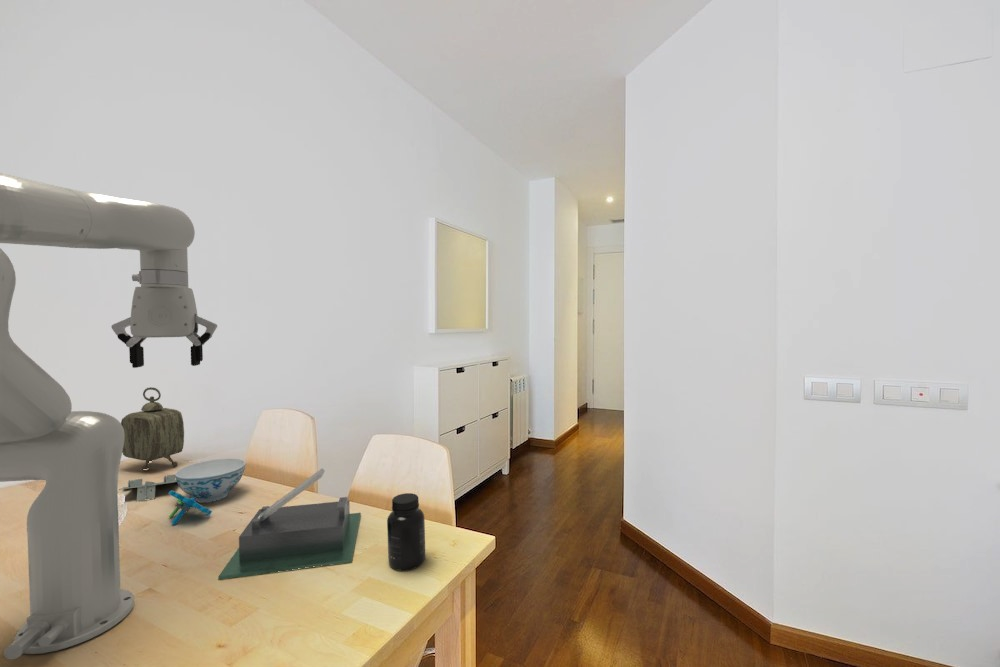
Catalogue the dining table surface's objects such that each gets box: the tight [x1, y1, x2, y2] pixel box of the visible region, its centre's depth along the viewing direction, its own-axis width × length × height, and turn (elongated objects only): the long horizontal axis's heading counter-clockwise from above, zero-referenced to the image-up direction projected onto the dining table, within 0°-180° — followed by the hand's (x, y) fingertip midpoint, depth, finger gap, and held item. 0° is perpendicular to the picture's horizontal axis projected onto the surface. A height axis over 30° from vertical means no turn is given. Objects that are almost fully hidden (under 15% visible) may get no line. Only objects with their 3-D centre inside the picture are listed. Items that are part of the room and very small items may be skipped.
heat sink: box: [217, 496, 362, 580], centre depth 86 cm, size 20×22×8 cm
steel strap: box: [257, 467, 326, 522], centre depth 86 cm, size 4×14×1 cm
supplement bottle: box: [386, 493, 426, 572], centre depth 79 cm, size 7×7×12 cm
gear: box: [167, 490, 213, 526], centre depth 96 cm, size 11×6×10 cm
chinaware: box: [174, 457, 246, 503], centre depth 109 cm, size 15×15×8 cm
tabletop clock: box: [120, 387, 185, 470], centre depth 131 cm, size 14×9×25 cm, turn 74°
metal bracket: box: [118, 474, 177, 502], centre depth 114 cm, size 14×6×15 cm
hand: (167, 366), depth 86 cm, fingers open, 9 cm apart
